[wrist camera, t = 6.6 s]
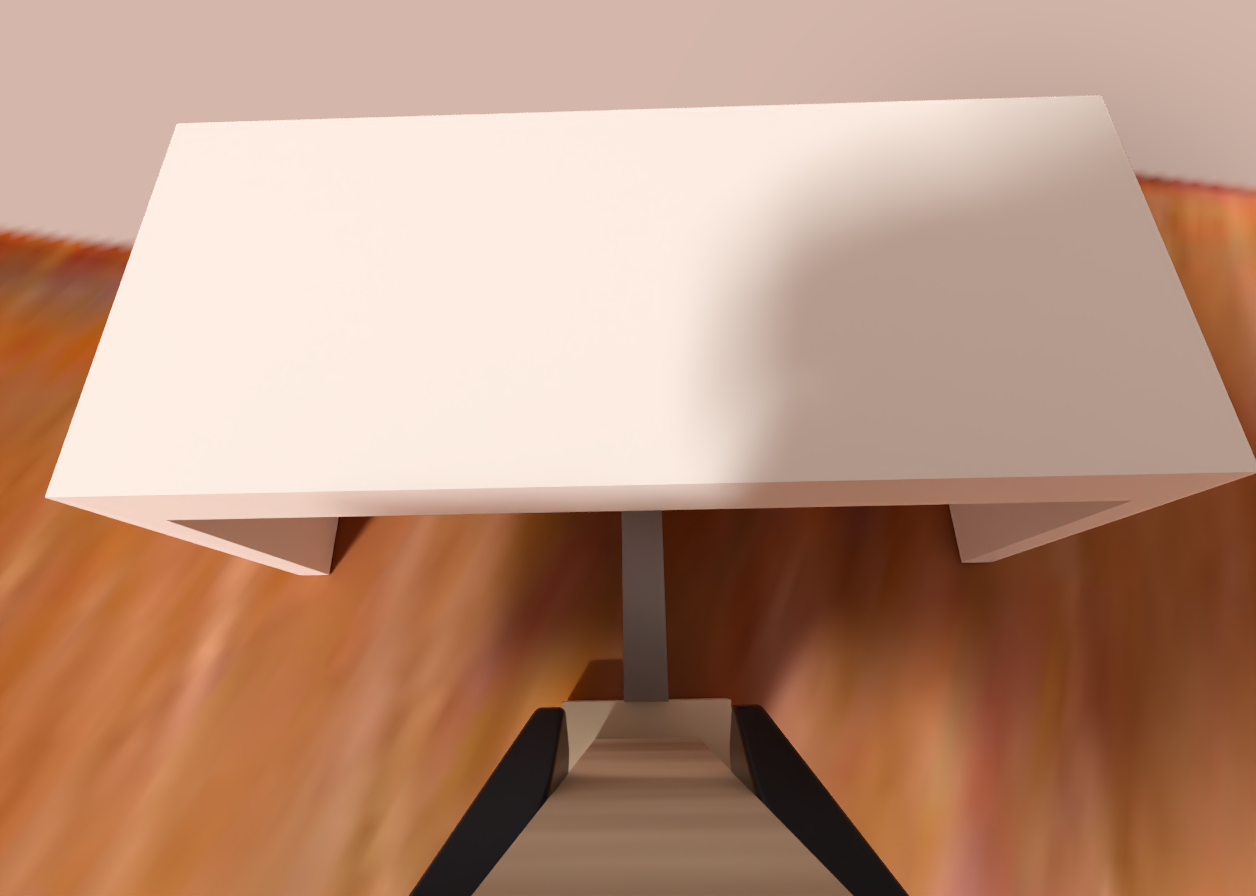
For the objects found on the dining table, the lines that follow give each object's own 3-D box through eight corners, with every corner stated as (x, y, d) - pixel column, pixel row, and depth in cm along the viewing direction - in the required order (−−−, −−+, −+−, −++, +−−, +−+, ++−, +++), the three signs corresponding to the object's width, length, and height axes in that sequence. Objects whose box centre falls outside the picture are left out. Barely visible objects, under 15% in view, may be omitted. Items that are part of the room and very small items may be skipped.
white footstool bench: (991, 562, 16) (1260, 472, 9) (299, 575, 16) (45, 497, 9) (932, 310, 19) (1102, 94, 12) (346, 325, 19) (176, 123, 12)
